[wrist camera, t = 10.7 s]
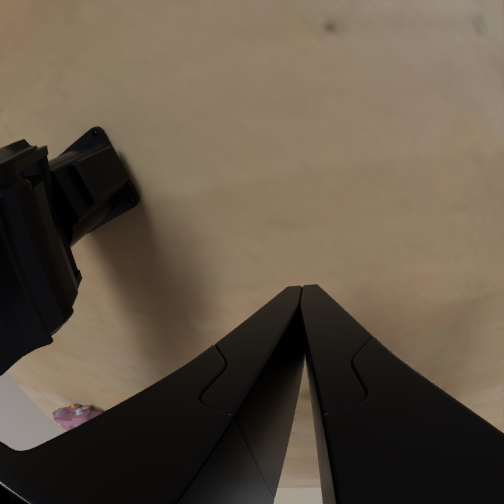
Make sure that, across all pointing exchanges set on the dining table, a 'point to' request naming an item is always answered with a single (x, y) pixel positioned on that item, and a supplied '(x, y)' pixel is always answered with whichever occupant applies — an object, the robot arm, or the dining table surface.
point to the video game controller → (74, 415)
